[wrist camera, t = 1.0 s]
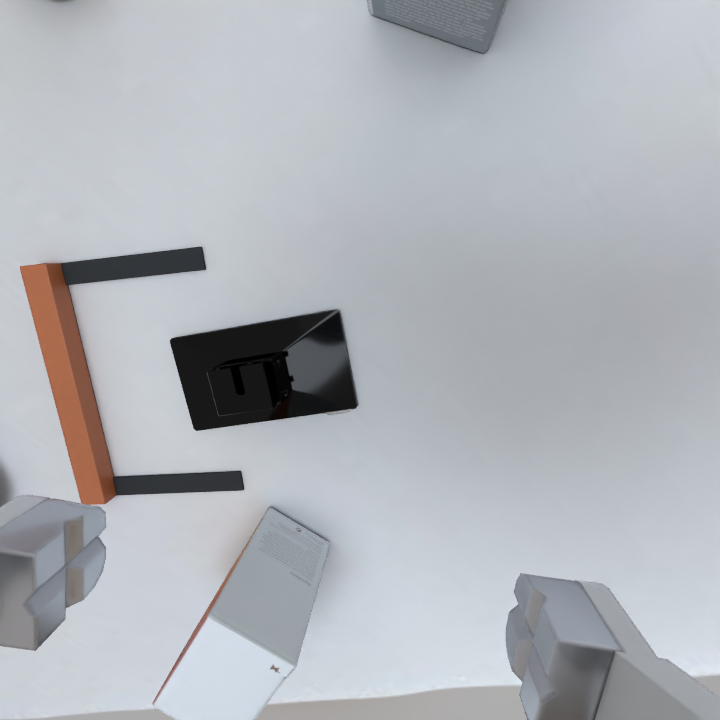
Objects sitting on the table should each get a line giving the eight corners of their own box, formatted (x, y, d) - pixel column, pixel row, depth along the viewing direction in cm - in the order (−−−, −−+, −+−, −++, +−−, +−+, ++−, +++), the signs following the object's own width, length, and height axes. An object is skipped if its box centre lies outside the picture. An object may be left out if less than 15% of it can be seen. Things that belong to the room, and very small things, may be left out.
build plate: (339, 308, 29) (327, 316, 24) (359, 409, 30) (351, 435, 26) (171, 338, 31) (131, 350, 26) (197, 432, 32) (163, 460, 28)
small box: (270, 503, 33) (207, 612, 22) (332, 541, 33) (298, 667, 23) (224, 576, 35) (147, 707, 24) (283, 612, 35) (231, 757, 24)
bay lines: (202, 247, 29) (200, 246, 29) (244, 489, 33) (243, 490, 32) (62, 263, 30) (60, 263, 30) (118, 494, 34) (116, 495, 34)
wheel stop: (62, 263, 30) (45, 263, 29) (118, 494, 34) (105, 504, 33) (37, 266, 31) (19, 266, 29) (95, 494, 34) (81, 505, 33)
